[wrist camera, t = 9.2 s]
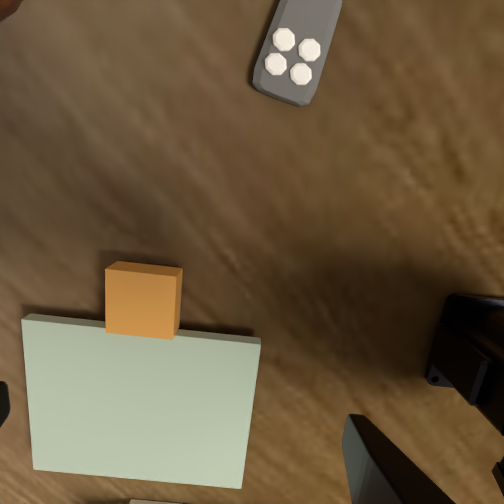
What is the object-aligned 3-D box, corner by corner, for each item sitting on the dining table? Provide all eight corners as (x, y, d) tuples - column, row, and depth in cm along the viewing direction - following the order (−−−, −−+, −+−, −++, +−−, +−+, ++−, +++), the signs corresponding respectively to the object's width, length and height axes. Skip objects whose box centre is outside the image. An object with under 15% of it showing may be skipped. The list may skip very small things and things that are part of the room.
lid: (268, 273, 20) (269, 287, 18) (241, 465, 24) (240, 496, 22) (37, 248, 19) (9, 258, 17) (50, 447, 23) (28, 476, 21)
